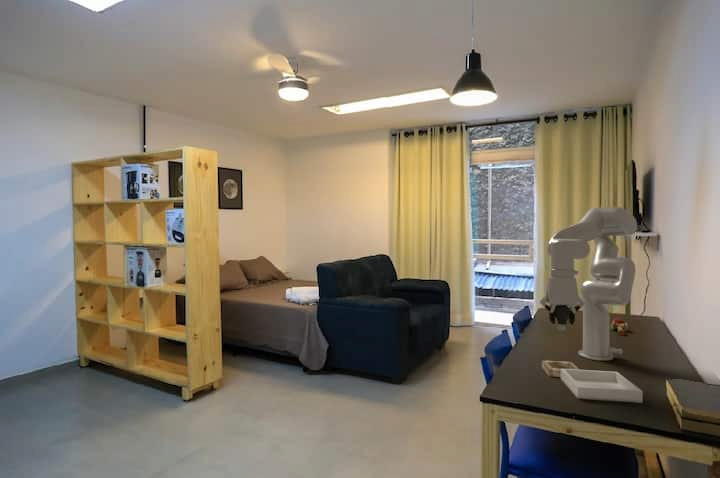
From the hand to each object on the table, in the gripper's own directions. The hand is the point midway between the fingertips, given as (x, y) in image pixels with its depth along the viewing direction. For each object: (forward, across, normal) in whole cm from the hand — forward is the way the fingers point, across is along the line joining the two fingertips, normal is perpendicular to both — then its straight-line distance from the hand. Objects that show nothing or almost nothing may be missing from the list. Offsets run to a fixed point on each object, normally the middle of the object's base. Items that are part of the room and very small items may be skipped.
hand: (561, 322), depth 153 cm
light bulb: (+3, 0, 0) cm, 3 cm away
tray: (+18, -7, +16) cm, 25 cm away
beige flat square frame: (+18, 0, 0) cm, 18 cm away
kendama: (+20, -48, -74) cm, 91 cm away
